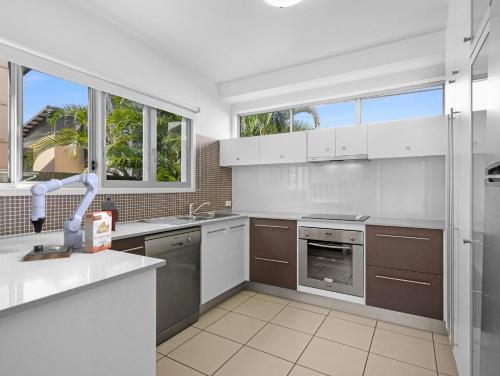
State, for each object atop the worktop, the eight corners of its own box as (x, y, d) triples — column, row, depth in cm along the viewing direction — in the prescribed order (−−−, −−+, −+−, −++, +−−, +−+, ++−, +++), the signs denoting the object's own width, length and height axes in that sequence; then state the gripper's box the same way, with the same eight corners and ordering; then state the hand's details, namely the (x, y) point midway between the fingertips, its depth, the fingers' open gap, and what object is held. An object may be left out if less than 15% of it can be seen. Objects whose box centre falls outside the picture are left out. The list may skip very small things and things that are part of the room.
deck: (70, 246, 148) (70, 240, 148) (66, 252, 136) (66, 245, 136) (36, 249, 141) (35, 243, 141) (29, 255, 130) (28, 249, 130)
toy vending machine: (118, 231, 211) (118, 194, 211) (102, 232, 205) (102, 195, 205) (117, 229, 219) (117, 194, 219) (101, 230, 213) (101, 194, 213)
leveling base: (73, 250, 150) (73, 244, 150) (69, 257, 136) (69, 250, 136) (32, 253, 142) (32, 247, 142) (23, 261, 128) (23, 254, 128)
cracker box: (93, 253, 143) (93, 213, 143) (83, 252, 145) (83, 213, 144) (112, 247, 157) (112, 211, 157) (102, 247, 158) (103, 210, 158)
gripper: (32, 206, 149) (32, 231, 149) (24, 208, 136) (24, 235, 136) (48, 205, 152) (48, 230, 152) (42, 207, 139) (42, 234, 139)
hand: (38, 232), depth 144 cm, fingers closed
